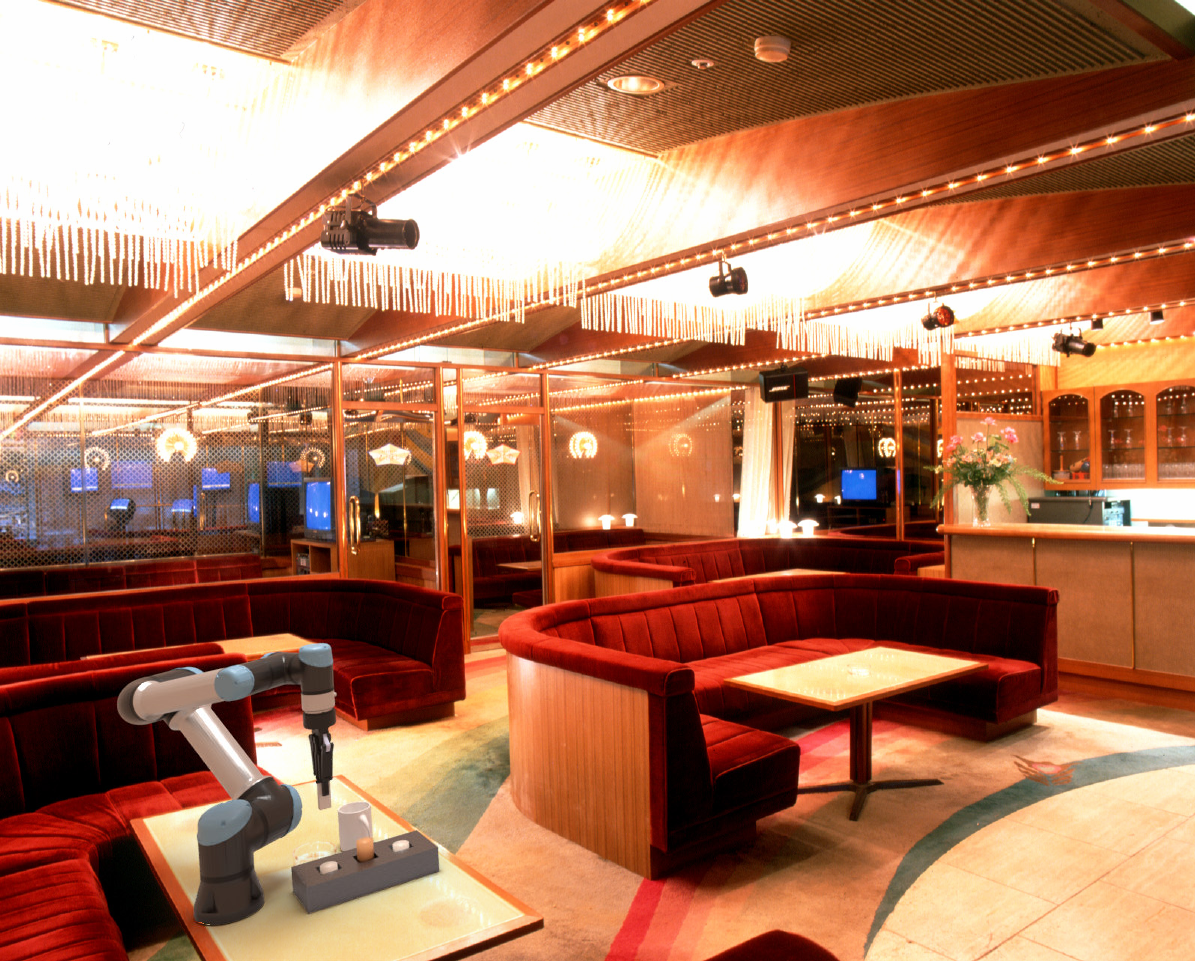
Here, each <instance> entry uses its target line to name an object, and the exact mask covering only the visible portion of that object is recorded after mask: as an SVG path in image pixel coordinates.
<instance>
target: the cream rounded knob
mask: <svg viewBox="0 0 1195 961" xmlns="http://www.w3.org/2000/svg"><path fill="white" fill-rule="evenodd" d="M408 848H409V841H407V840H400V841H396V842H394V843H393V851H394V852H398V851H401V850H404V849H408Z"/></svg>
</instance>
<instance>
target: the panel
mask: <svg viewBox="0 0 1195 961" xmlns="http://www.w3.org/2000/svg"><path fill="white" fill-rule="evenodd" d="M400 840H407V841H409V848H408V849H404V850H401V851H398V852H394V851H393V843H394V842H396V841H400ZM373 846H374V859H371V860H368V861H365V862H361V863H358V862H357V848H354V849H351V850H347V851H341V852H338V853H334V854H331V855H328V856H327V855H326V856H324V857H320V858H317V859H313V860H310V861H306V862H303V863H300V864H297V865H293V866H291V867H290V870H291V871H290V872H291V888H292V893H293V895H294V896H295V897H296V899H297V900H298V901H299V903H300V904H301V906H302V907H303V908H304V910H305V911H306V913H307V914H308V915H309V914H312V913H315V912H319V911H322V910H325V909H327V908H331V907H334V906H337V905H340V904H344V903H347V902H350V901H351V900H355V899H359V898H362V897H365V896H367V895H370V894H374V893H376V892H380V891H383V890H387V889H389V888H392V887H396V886H398V885H401V884H404V883H407V882H410V881H414V880H416V879H420V878H422V877H425V876H426V877H427V876H429V875H432V874H435V873H439V872H440V856H439V846H437V845H436V844H435V843H434V842H432V841H431V840H430V839H429V838H427V837H426V836H425V835H424V834H422V833H421V832H420V831H419V830H413V831H409V832H406V833H403V834H399V835H396V836H393V837H388V838H385V839H381V840H379V841H375V842H373ZM329 861H335V862H337V867H338V870H335V871H332V872H328V873H325V874H322V875H321V874H320V865H321V864H323V863H325V862H329Z"/></svg>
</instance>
